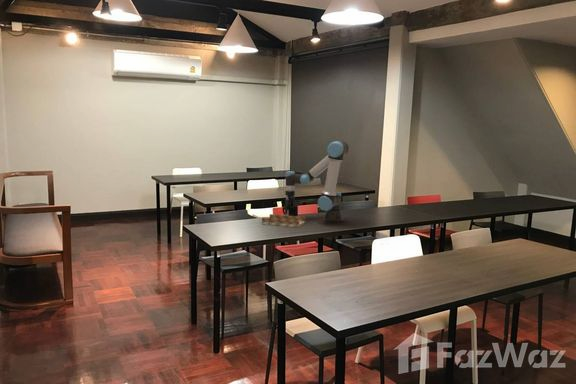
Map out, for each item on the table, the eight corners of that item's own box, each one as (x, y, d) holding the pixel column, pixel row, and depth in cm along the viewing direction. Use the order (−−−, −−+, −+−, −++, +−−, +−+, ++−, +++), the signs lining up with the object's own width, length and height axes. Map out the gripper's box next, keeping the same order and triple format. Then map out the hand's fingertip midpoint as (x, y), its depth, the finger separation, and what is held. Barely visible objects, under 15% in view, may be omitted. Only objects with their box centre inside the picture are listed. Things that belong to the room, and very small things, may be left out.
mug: (293, 221, 372) (293, 206, 370) (278, 219, 381) (278, 204, 379) (301, 219, 381) (301, 204, 379) (286, 217, 389) (286, 203, 388)
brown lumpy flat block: (305, 223, 365) (305, 217, 365) (298, 227, 350) (298, 220, 350) (270, 220, 376) (270, 214, 375) (262, 224, 361) (262, 217, 361)
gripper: (291, 188, 390) (291, 213, 393) (279, 192, 367) (279, 218, 370) (299, 188, 387) (299, 213, 390) (288, 192, 364) (288, 219, 367)
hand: (289, 216), depth 380 cm, fingers open, 13 cm apart
